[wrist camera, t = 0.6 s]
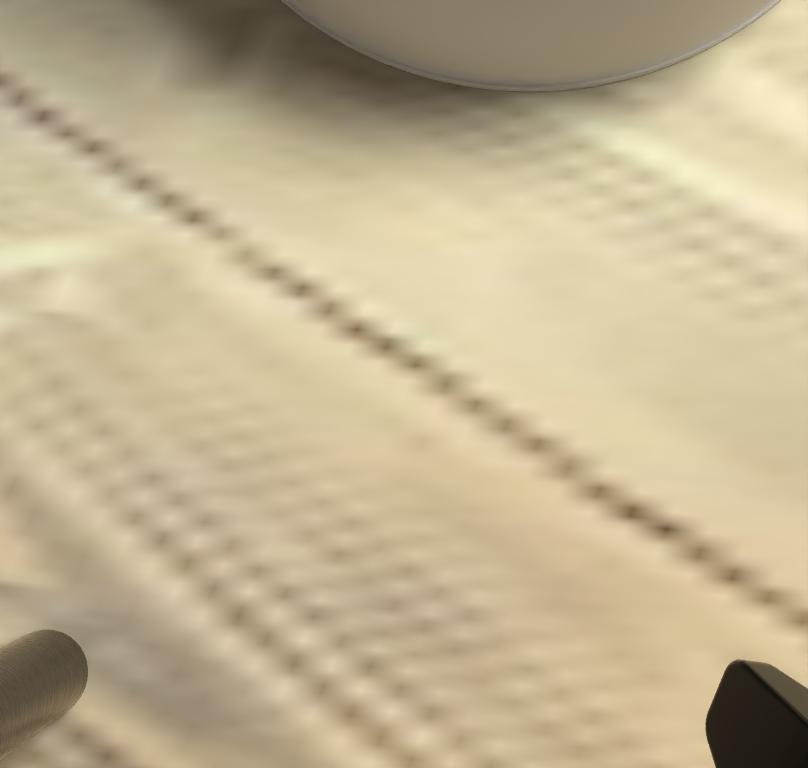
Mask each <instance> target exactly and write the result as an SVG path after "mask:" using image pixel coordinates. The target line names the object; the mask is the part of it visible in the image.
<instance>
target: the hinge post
mask: <svg viewBox="0 0 808 768" xmlns="http://www.w3.org/2000/svg"><path fill="white" fill-rule="evenodd" d="M87 677H88V667H87V661H86V658H85V655H84V653H83V651H82V649H81V648H80V646H79V645H78V644H77V643H76V642H75V641H74V640H73V639H72V638H71V637H69V636H68V635H66V634H64V633H61V632H58V631H54V630H40V631H36V632H33V633H30V634H28V635H26V636H24V637H22V638H20V639H18V640H16V641H14V642H12V643H10V644H7V645H5V646H3V647H1V648H0V760H2V759H3V758H4V757H6V756H7V755H8V754H10V753H11V752H12V751H14V750H15V749H16V748H18V747H19V746H20V745H22V744H23V743H24V742H26V741H27V740H28V739H30V738H31V737H32V736H34V735H35V734H36V733H38V732H39V731H40V730H42V729H43V728H44V727H46V726H47V725H48V724H50V723H51V722H52V721H54V720H55V719H56V718H58V717H59V716H60V715H62V714H63V713H64V712H66V711H67V710H68V709H70V708H71V707H72V706H73V705H74V704H75V703H76V702H77V701H78V700H79V698H80V697H81V695H82V693H83V691H84V689H85V686H86V683H87Z"/></svg>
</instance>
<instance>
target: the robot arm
mask: <svg viewBox="0 0 808 768" xmlns="http://www.w3.org/2000/svg"><path fill="white" fill-rule="evenodd" d="M706 736H707V740H708V744H709V747H710V750H711V753H712V757H713V760H714V763H715V766H716V768H808V689H807V688H806V687H804V686H803V685H801V684H800V683H798V682H797V681H795V680H794V679H792V678H791V677H789V676H787V675H786V674H784V673H783V672H781V671H780V670H778V669H777V668H775V667H774V666H772V665H770V664H767V663H762V662H754V661H746V660H735V661H733V662H731V663H730V664H729V665H728V666H727V668H726V670H725V672H724V675H723V677H722V679H721V682H720V684H719V687H718V689H717V691H716V694H715V696H714V699H713V701H712V704H711V706H710V708H709V711H708V714H707V718H706Z"/></svg>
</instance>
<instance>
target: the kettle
mask: <svg viewBox="0 0 808 768" xmlns="http://www.w3.org/2000/svg"><path fill="white" fill-rule="evenodd" d="M281 1H282V2H283V3H284V4H285V5H286V6H288V7H289V8H290V9H291V10H293V11H294V12H295V13H297V14H298V15H299V16H300V17H302V18H303V19H304V20H306V21H307V22H309V23H310V24H312V25H313V26H314V27H316V28H317V29H319V30H321V31H322V32H324V33H325V34H327V35H328V36H330V37H332V38H333V39H335V40H337V41H339V42H340V43H342V44H344V45H346V46H348V47H349V48H351V49H353V50H356V51H358V52H360V53H362V54H364V55H366V56H368V57H370V58H372V59H375V60H377V61H379V62H382V63H384V64H387V65H389V66H392V67H395V68H397V69H400V70H403V71H406V72H409V73H412V74H415V75H419V76H422V77H426V78H429V79H433V80H437V81H442V82H446V83H451V84H456V85H461V86H467V87H474V88H481V89H489V90H502V91H524V92H531V91H558V90H570V89H579V88H586V87H593V86H599V85H604V84H609V83H614V82H619V81H623V80H627V79H631V78H635V77H638V76H642V75H645V74H648V73H651V72H655V71H657V70H660V69H663V68H666V67H669V66H671V65H674V64H676V63H679V62H681V61H683V60H686V59H688V58H691V57H693V56H695V55H697V54H699V53H701V52H703V51H705V50H707V49H709V48H711V47H713V46H715V45H717V44H719V43H720V42H722V41H724V40H726V39H727V38H729V37H731V36H732V35H734V34H736V33H737V32H739V31H741V30H742V29H744V28H745V27H747V26H748V25H750V24H751V23H753V22H754V21H755V20H757V19H758V18H759V17H761V16H762V15H763V14H765V13H766V12H768V11H769V10H770V9H771V8H772V7H774V6H775V5H776V4H777V3H779V2H780V1H781V0H281Z"/></svg>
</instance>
